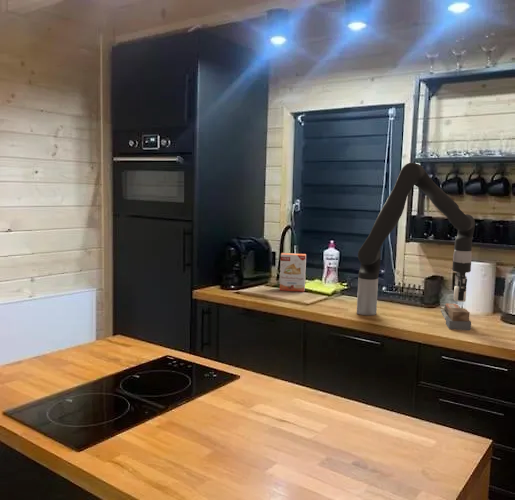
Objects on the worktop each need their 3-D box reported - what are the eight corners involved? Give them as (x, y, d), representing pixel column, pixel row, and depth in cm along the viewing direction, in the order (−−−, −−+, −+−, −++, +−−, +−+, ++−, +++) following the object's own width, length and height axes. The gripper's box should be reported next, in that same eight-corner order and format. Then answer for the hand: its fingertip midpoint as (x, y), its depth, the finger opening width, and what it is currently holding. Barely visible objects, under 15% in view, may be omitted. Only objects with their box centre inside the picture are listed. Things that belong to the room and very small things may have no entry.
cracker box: (279, 290, 311) (280, 254, 308) (280, 288, 317) (281, 252, 314) (304, 292, 309) (305, 255, 306) (305, 289, 315) (306, 253, 312)
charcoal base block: (449, 329, 241) (449, 321, 241) (445, 324, 250) (446, 315, 250) (470, 331, 240) (471, 322, 239) (466, 325, 249) (467, 317, 248)
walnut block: (452, 320, 241) (453, 311, 241) (448, 316, 248) (448, 307, 248) (468, 321, 241) (469, 312, 240) (464, 317, 248) (465, 308, 247)
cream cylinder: (454, 301, 241) (455, 287, 240) (452, 298, 246) (453, 285, 245) (466, 302, 240) (467, 288, 239) (464, 299, 245) (465, 286, 244)
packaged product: (440, 302, 273) (461, 303, 271) (440, 311, 273) (461, 312, 272) (445, 311, 255) (468, 312, 253) (445, 321, 256) (467, 322, 254)
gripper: (450, 257, 248) (447, 294, 251) (456, 262, 234) (453, 302, 237) (467, 258, 247) (465, 295, 249) (474, 263, 233) (471, 303, 235)
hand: (459, 298), depth 243 cm, fingers closed on cream cylinder, 5 cm apart
